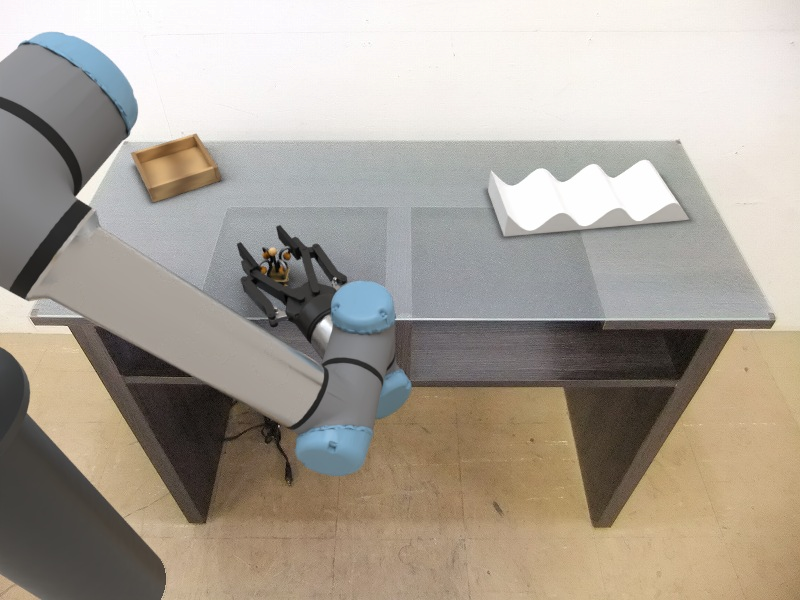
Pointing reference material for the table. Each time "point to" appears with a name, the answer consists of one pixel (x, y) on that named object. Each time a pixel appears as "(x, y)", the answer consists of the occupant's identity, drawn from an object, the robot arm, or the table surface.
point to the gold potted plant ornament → (276, 264)
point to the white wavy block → (583, 200)
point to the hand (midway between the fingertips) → (260, 240)
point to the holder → (175, 167)
